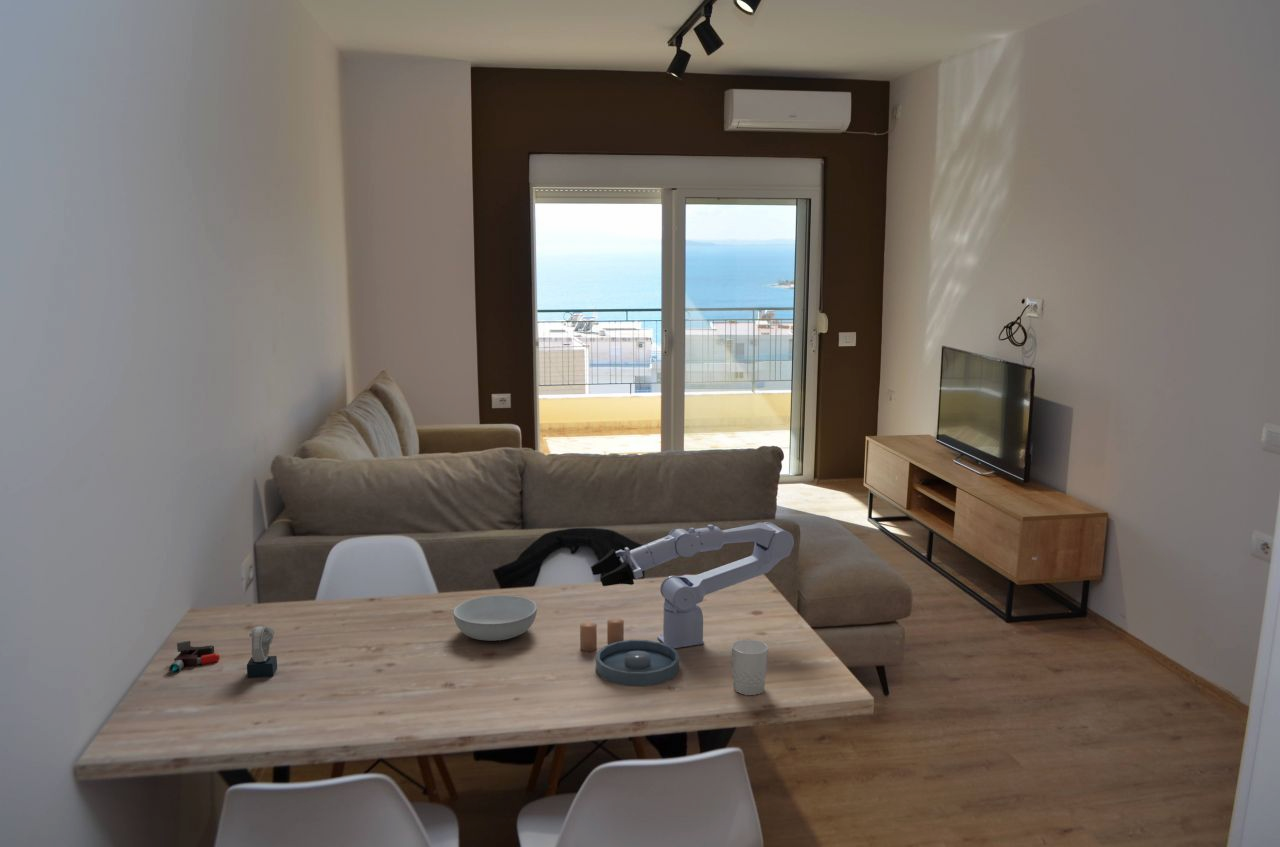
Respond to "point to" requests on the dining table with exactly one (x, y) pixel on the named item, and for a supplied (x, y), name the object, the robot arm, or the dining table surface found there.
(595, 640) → the tan wooden cylinder
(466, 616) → the serving bowl
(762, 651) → the grey cup
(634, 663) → the ring tray
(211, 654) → the toy gun
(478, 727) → the dining table surface
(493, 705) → the dining table surface
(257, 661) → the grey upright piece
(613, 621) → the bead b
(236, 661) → the dining table surface
